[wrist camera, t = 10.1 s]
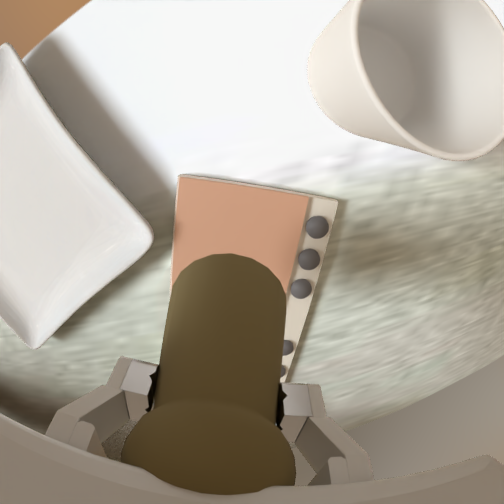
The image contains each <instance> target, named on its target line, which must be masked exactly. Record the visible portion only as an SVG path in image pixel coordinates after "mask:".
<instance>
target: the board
mask: <svg viewBox="0 0 504 504" xmlns="http://www.w3.org/2000/svg"><path fill="white" fill-rule="evenodd" d="M337 206H338V201H337V200H336V199H332V198H327V197H322V196H317V195H311V194H306V193H301V192H295V191H290V190H284V189H278V188H273V187H267V186H261V185H255V184H248V183H242V182H235V181H229V180H222V179H215V178H207V177H200V176H192V175H184V174H180V175H179V176H178V182H177V192H176V203H175V214H174V227H173V242H172V258H171V279H170V297H171V291H172V286H173V284H174V282H175V281H176V279H177V277H178V276H179V274H180V272H181V271H182V270H184V269H185V268H186V267H187V266H188V265H190V264H191V263H192V262H193V261H195V260H198V259H201V258H203V257H206V256H209V255H212V254H228V253H233V254H237V255H241V256H245V257H249V258H252V259H254V260H256V261H257V262H259V263H261V264H263V265H264V266H266V267H268V268H269V269H270V270H271V271H272V273H273V274H274V275H275V276H276V277H277V278H278V279H279V280H280V282H281V284H282V287H283V289H284V292H285V294H286V323H285V335H284V346H283V357H282V368H281V378H280V382H285V380H286V377H287V374H288V371H289V368H290V365H291V362H292V359H293V356H294V354H295V351H296V348H297V345H298V342H299V338H300V335H301V332H302V329H303V326H304V323H305V320H306V317H307V313H308V310H309V307H310V304H311V300H312V297H313V294H314V290H315V287H316V284H317V280H318V277H319V273H320V270H321V266H322V263H323V259H324V256H325V252H326V248H327V245H328V241H329V237H330V233H331V230H332V226H333V222H334V218H335V214H336V210H337Z"/></svg>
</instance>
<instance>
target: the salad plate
mask: <svg viewBox="0 0 504 504" xmlns="http://www.w3.org/2000/svg"><path fill="white" fill-rule="evenodd" d="M153 241H154V233H153V230H152V227H151V226H150V224H149V223H148V221H147V220H146V219H145V218H144V217H143V216H142V215H141V213H140V212H139V211H138V210H137V209H136V208H135V207H134V206H133V204H132V203H131V202H130V201H129V200H128V199H127V198H126V197H125V196H124V195H123V194H122V192H121V191H120V190H119V189H118V188H117V187H116V186H115V185H114V184H113V183H112V182H111V180H110V179H109V178H108V177H107V176H106V175H105V174H104V173H103V172H102V171H101V170H100V169H99V167H98V166H97V165H96V164H95V163H94V162H93V160H92V159H91V158H90V157H89V156H88V155H87V153H86V152H85V151H84V150H83V149H82V148H81V146H80V145H79V144H78V143H77V142H76V140H75V139H74V138H73V137H72V135H71V134H70V133H69V132H68V130H67V129H66V128H65V126H64V125H63V124H62V122H61V121H60V119H59V118H58V117H57V115H56V114H55V112H54V111H53V110H52V108H51V107H50V105H49V104H48V102H47V101H46V99H45V98H44V96H43V95H42V93H41V91H40V90H39V88H38V87H37V85H36V83H35V82H34V80H33V78H32V77H31V75H30V73H29V72H28V70H27V68H26V67H25V65H24V63H23V62H22V60H21V58H20V57H19V55H18V53H17V52H16V50H15V49H14V48H13V46H12V45H11V44H9V43H7V42H6V43H4V44H3V45H1V46H0V318H1V319H2V320H3V321H4V322H5V323H6V324H7V326H8V327H9V328H10V329H11V330H12V331H13V332H14V333H15V334H16V335H17V336H18V337H19V338H20V339H21V340H22V341H23V342H24V343H25V344H26V345H27V346H28V347H30V348H31V349H38V348H40V347H41V346H42V345H43V344H44V343H45V342H46V341H47V340H48V339H49V338H50V337H51V336H52V335H53V334H54V333H55V332H56V331H57V330H58V329H59V328H60V327H61V326H62V325H63V324H64V323H65V322H66V321H67V320H68V319H69V318H70V317H71V316H72V315H73V314H74V313H75V312H76V311H77V310H78V309H79V308H80V307H81V306H83V305H84V304H85V303H86V302H87V301H88V300H89V299H91V298H92V297H93V296H94V295H95V294H97V293H98V292H99V291H100V290H101V289H103V288H104V287H105V286H106V285H108V284H109V283H110V282H111V281H113V280H114V279H115V278H116V277H118V276H119V275H120V274H121V273H123V272H124V271H125V270H127V269H128V268H129V267H131V266H132V265H133V264H134V263H135V262H137V261H138V260H139V259H140V258H141V257H142V256H143V255H144V254H145V253H146V252H147V251H148V250H149V249H150V247H151V246H152V244H153Z"/></svg>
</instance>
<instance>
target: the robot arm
mask: <svg viewBox="0 0 504 504" xmlns="http://www.w3.org/2000/svg"><path fill="white" fill-rule="evenodd" d="M159 367H160V366H159V365H158V364H153V363H149V362H145V361H141V360H137V359H132V358H128V357H124V356H121V357H120V358H119V359H118V361H117V363H116V365H115V367H114V369H113V371H112V374H111V376H110V378H109V380H108V382H107V384H106V386H105V385H101V386H99V387H98V388H96V389H94V390H92V391H91V392H89V393H87V394H86V395H84V396H82V397H80V398H78V399H77V400H75V401H73V402H71V403H70V404H68V405H66V406H64V407H63V408H61V409H59V410H57V412H56V414H55V416H54V418H53V420H52V421H51V423H50V425H49V427H48V429H47V431H46V433H45V435H43V434H41V433H39V432H37V431H34V430H32V429H30V428H28V427H26V426H24V425H22V424H20V423H18V422H16V421H14V420H12V419H10V418H8V417H6V416H4V415H2V414H1V413H0V504H504V465H503V464H502V463H500V462H499V461H497V460H496V459H495V458H493V457H491V456H489V455H482V456H478V457H475V458H472V459H469V460H465V461H462V462H459V463H455V464H452V465H448V466H444V467H441V468H437V469H433V470H428V471H424V472H419V473H415V474H410V475H404V476H399V477H393V478H387V479H381V480H374V475H373V472H372V467H371V463H370V459H369V455H368V454H367V453H366V452H365V451H364V450H363V449H362V448H361V447H360V446H359V445H358V444H357V443H356V442H355V441H354V440H353V439H352V438H351V437H350V436H349V435H348V434H347V433H346V432H345V431H344V430H343V429H342V428H341V427H340V426H339V425H338V424H337V423H336V422H335V421H334V420H333V419H332V418H331V417H327V416H326V411H325V406H324V401H323V396H322V391H321V387H320V385H318V384H301V383H286V382H280V384H279V391H278V406H277V415H276V424H275V426H277V427H278V428H279V429H280V430H281V432H282V433H283V435H284V436H285V438H286V439H287V441H288V442H293V443H295V445H296V446H297V448H298V449H299V450H300V452H301V453H302V454H303V456H304V457H305V458H306V460H307V461H308V463H309V464H310V465H311V467H312V468H313V469H314V471H315V472H316V473H317V475H316V476H315V477H314V478H313V479H312V481H311V482H310V483H309V484H308V485H307V486H271V487H268V488H265V489H263V490H261V491H259V492H255V493H247V494H237V495H215V494H204V493H198V492H194V491H190V490H187V489H183V488H179V487H176V486H173V485H171V484H169V483H167V482H164V481H162V480H160V479H158V478H157V477H156V476H154V475H153V474H151V473H149V472H148V471H146V470H145V469H143V468H140V467H137V466H133V465H129V464H125V463H122V462H118V461H115V460H111V459H108V458H107V456H106V454H105V452H104V449H103V447H102V444H101V443H103V442H104V441H105V440H106V439H108V438H109V437H110V436H111V435H112V434H114V433H115V432H116V431H117V430H119V429H120V428H121V427H122V426H123V425H125V424H126V423H127V422H128V421H129V419H130V420H135V421H139V420H140V419H141V417H142V416H143V415H144V414H146V413H148V412H150V411H152V410H153V407H154V399H155V391H156V384H157V376H158V371H159Z"/></svg>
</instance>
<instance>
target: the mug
mask: <svg viewBox="0 0 504 504" xmlns="http://www.w3.org/2000/svg"><path fill="white" fill-rule="evenodd" d="M307 76H308V83H309V86H310V90H311V92H312V95H313V97H314V99H315V101H316V103H317V104H318V106H319V107H320V109H321V110H322V111H323V113H324V114H325V115H326V116H327V117H328V118H329V119H330V120H331V121H332V122H334V123H335V124H336V125H338V126H339V127H341V128H342V129H344V130H346V131H348V132H350V133H352V134H355V135H358V136H361V137H365V138H369V139H373V140H377V141H381V142H385V143H389V144H393V145H397V146H400V147H404V148H408V149H411V150H415V151H418V152H421V153H425V154H428V155H431V156H434V157H438V158H441V159H444V160H451V161H466V160H471V159H475V158H478V157H481V156H483V155H485V154H487V153H488V152H490V151H492V150H493V149H494V148H495V147H496V146H498V145H499V144H500V143H501V141H502V140H503V139H504V28H503V26H502V25H501V23H500V21H499V20H498V18H497V17H496V15H495V14H494V13H493V11H492V10H491V9H490V7H489V6H488V5H487V4H486V3H485V2H484V1H483V0H349V1H348V2H347V3H346V4H345V6H344V7H343V8H342V9H341V10H340V11H339V12H338V13H337V15H336V16H335V17H334V18H333V19H332V20H331V22H330V23H329V24H328V25H327V26H326V27H325V29H324V30H323V31H322V32H321V33H320V35H319V36H318V37H317V39H316V41H315V42H314V44H313V46H312V48H311V50H310V53H309V57H308V63H307Z"/></svg>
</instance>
